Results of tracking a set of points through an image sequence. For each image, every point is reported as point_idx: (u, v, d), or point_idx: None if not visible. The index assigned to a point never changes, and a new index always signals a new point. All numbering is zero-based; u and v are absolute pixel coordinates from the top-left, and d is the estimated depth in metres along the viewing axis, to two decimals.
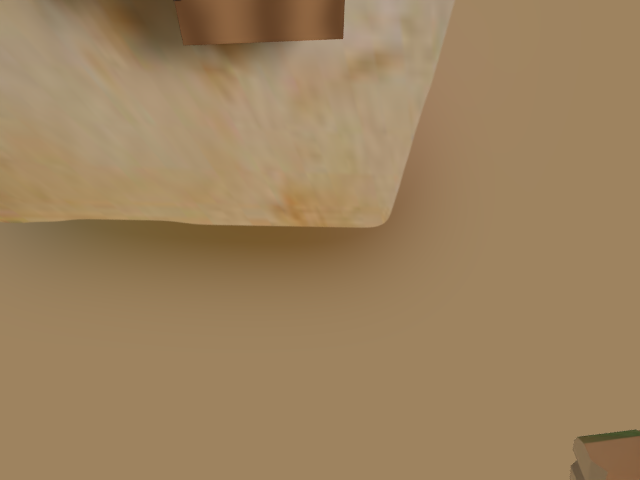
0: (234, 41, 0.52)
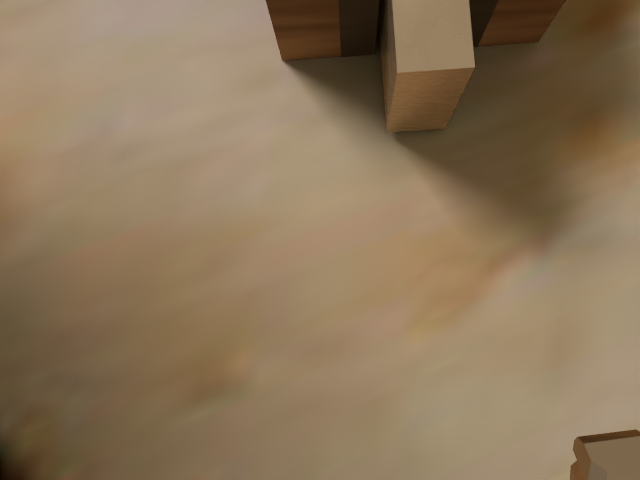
0: None
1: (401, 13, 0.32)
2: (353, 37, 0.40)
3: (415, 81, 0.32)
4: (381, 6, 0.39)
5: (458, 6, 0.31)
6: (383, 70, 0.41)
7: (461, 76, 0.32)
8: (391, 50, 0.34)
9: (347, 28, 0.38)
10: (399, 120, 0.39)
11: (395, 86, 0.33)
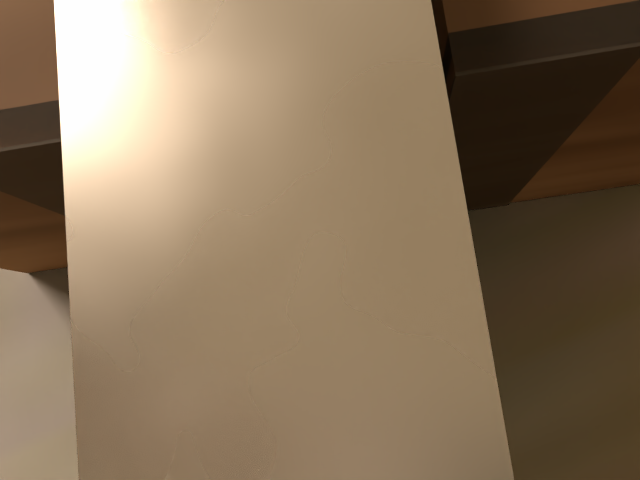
0: None
1: (109, 220, 0.06)
2: None
3: None
4: None
5: (397, 157, 0.06)
6: None
7: None
8: None
9: None
10: None
11: None
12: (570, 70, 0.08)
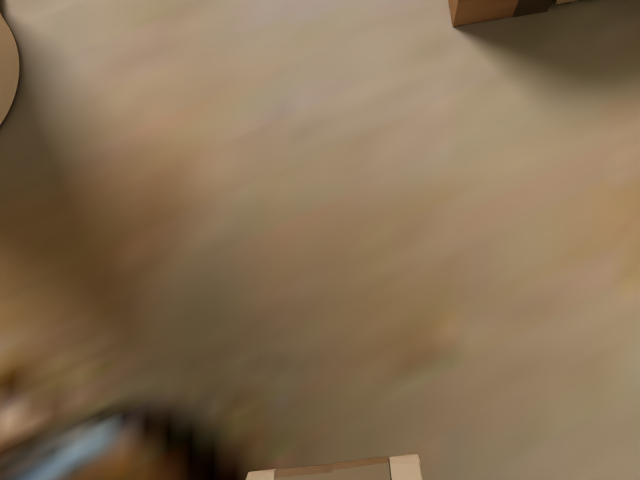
0: None
1: None
2: None
3: None
4: None
5: None
6: None
7: None
8: None
9: None
10: None
11: None
12: None
